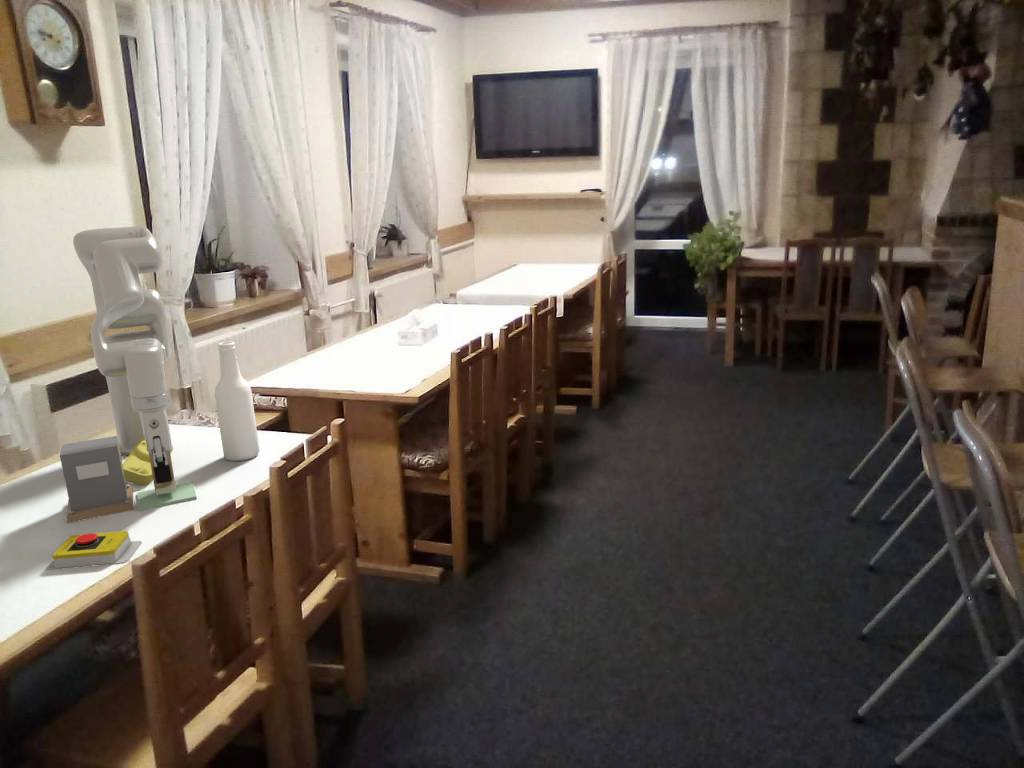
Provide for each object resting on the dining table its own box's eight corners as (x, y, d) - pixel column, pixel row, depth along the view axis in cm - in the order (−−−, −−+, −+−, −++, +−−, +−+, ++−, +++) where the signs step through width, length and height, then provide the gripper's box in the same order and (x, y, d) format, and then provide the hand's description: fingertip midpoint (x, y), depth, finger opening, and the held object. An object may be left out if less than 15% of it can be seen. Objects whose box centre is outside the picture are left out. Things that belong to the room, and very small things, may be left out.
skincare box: (154, 486, 183) (145, 436, 180) (174, 482, 185) (166, 432, 181) (156, 496, 177) (147, 444, 174) (177, 492, 179) (168, 440, 176)
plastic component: (149, 478, 187) (107, 463, 186) (141, 503, 189) (99, 489, 188) (179, 443, 206) (140, 430, 204) (171, 467, 208) (133, 454, 206)
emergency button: (61, 530, 157) (140, 523, 159) (65, 550, 158) (144, 543, 160) (40, 551, 148) (123, 544, 150) (44, 572, 149) (127, 565, 151)
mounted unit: (70, 503, 180) (57, 442, 176) (132, 491, 186) (122, 432, 182) (67, 523, 170) (53, 459, 166) (133, 509, 175) (122, 447, 171)
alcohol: (265, 450, 209) (250, 338, 201) (250, 462, 201) (234, 346, 193) (234, 450, 211) (218, 339, 203) (218, 462, 202) (200, 347, 194)
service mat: (137, 494, 183) (137, 492, 183) (193, 484, 188) (192, 481, 188) (138, 510, 175) (138, 507, 174) (196, 498, 179) (196, 496, 179)
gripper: (170, 408, 169) (183, 486, 174) (166, 389, 185) (178, 462, 189) (132, 414, 166) (146, 493, 171) (131, 394, 181) (144, 468, 186)
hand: (163, 476), depth 180 cm, fingers closed on skincare box, 6 cm apart
